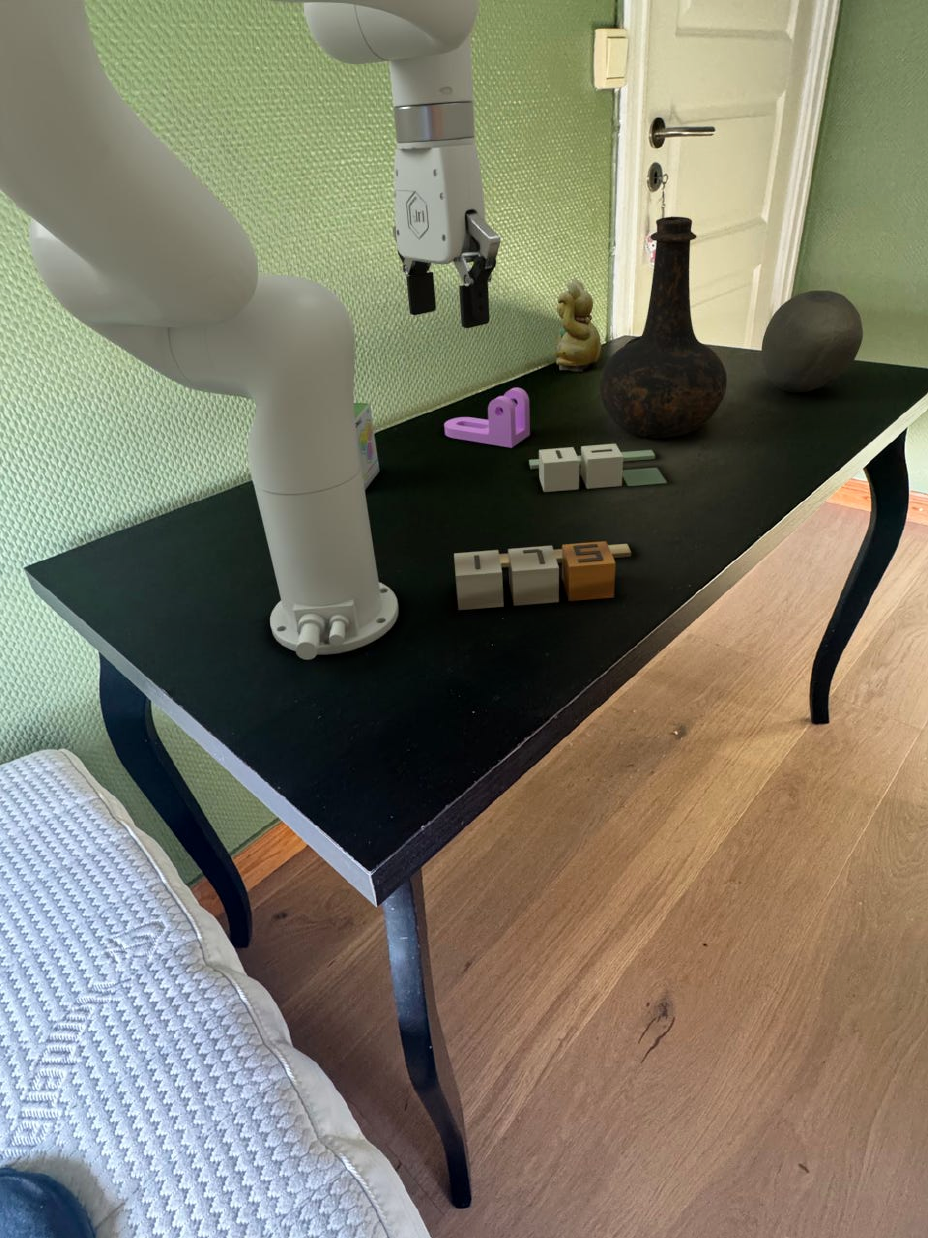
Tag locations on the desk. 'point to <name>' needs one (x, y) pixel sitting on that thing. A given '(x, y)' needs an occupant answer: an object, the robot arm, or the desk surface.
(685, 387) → the brown bottle
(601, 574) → the orange-brown block
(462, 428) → the bracket
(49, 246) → the robot arm
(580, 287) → the decorative figurine
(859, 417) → the desk surface
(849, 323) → the dark grey rounded piece
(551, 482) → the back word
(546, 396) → the desk surface
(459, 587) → the front word
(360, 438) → the ink box
